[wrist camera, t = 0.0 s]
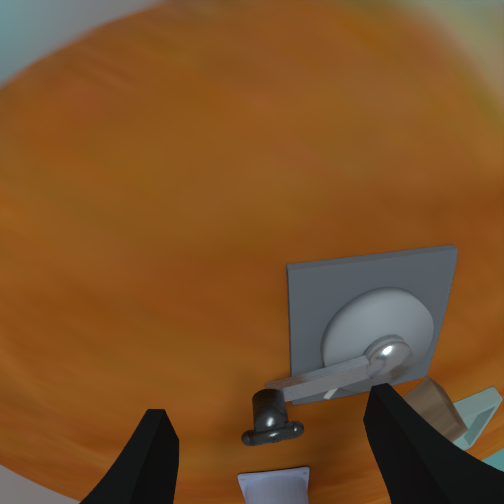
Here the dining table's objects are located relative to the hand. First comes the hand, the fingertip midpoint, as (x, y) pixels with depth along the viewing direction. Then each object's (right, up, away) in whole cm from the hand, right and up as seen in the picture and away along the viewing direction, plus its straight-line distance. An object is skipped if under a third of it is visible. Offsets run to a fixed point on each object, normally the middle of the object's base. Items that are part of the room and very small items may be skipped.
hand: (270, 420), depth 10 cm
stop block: (+16, -8, +15) cm, 24 cm away
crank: (+4, -2, +9) cm, 10 cm away
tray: (+24, -16, +19) cm, 34 cm away
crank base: (+8, 0, +11) cm, 14 cm away
